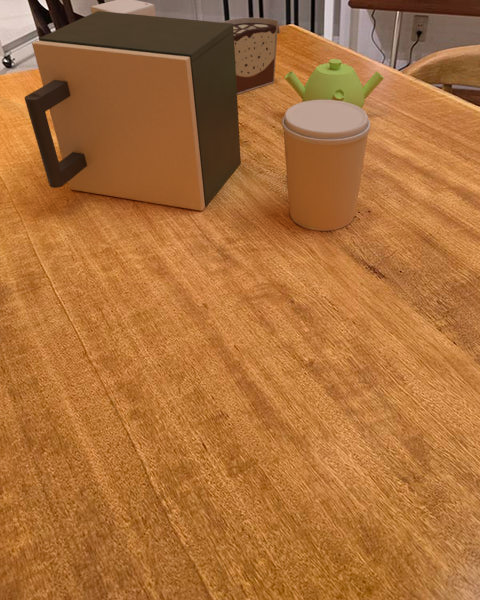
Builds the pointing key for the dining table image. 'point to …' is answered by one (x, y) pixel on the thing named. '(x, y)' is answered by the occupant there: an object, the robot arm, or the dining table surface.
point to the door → (118, 123)
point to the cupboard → (204, 67)
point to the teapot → (334, 84)
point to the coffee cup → (324, 161)
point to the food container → (254, 52)
